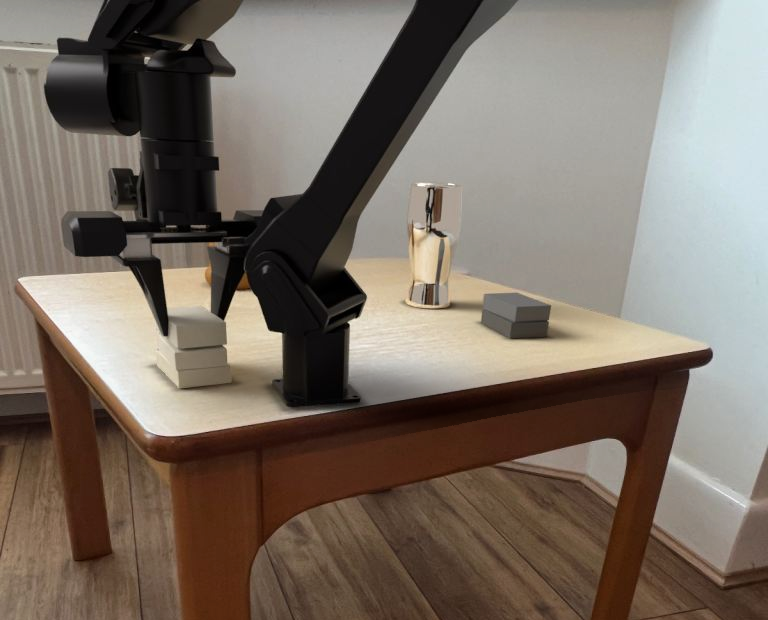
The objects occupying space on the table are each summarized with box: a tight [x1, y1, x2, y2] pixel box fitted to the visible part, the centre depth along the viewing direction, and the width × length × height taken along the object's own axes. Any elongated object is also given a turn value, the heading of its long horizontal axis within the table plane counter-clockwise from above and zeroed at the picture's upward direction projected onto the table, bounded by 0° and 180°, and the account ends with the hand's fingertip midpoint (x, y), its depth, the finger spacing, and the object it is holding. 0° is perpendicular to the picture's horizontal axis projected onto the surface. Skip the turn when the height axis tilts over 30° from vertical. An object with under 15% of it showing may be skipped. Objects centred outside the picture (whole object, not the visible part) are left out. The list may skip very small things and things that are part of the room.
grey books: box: [480, 292, 552, 339], centre depth 90 cm, size 8×5×4 cm
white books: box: [154, 331, 233, 390], centre depth 68 cm, size 8×5×3 cm, turn 30°
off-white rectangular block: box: [155, 304, 228, 349], centre depth 67 cm, size 7×4×2 cm, turn 30°
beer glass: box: [405, 181, 464, 310], centre depth 98 cm, size 7×7×15 cm
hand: (191, 333), depth 67 cm, fingers closed on off-white rectangular block, 4 cm apart
